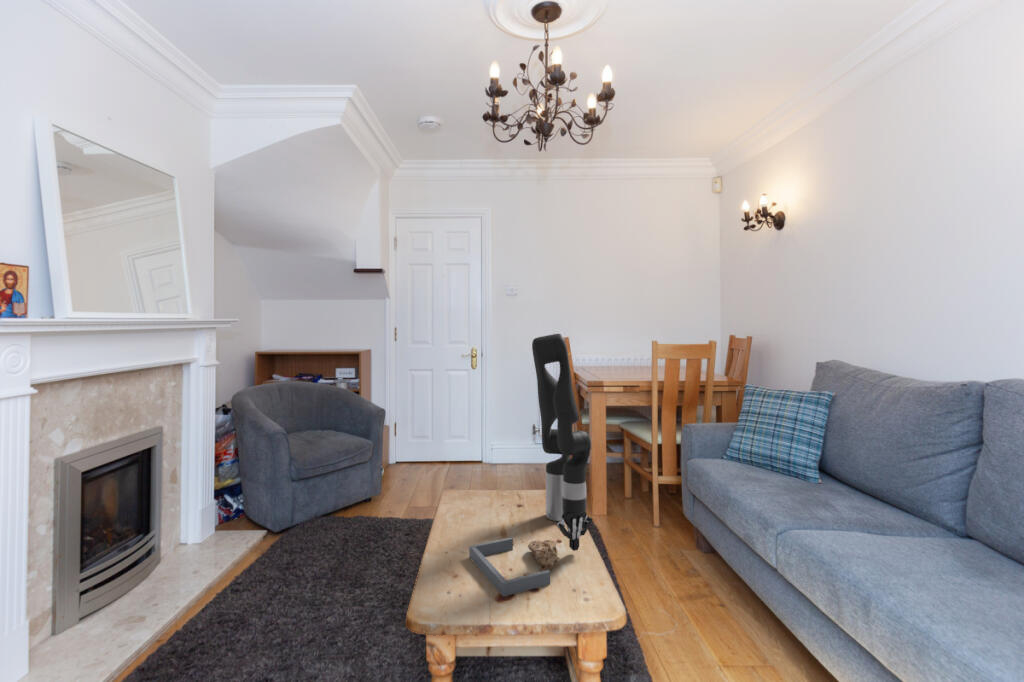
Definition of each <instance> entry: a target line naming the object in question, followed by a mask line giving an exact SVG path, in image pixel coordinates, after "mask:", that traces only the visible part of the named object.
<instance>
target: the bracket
mask: <svg viewBox="0 0 1024 682" xmlns="http://www.w3.org/2000/svg"><path fill="white" fill-rule="evenodd" d="M468 547H469V549H468V550H469V551H468V552H469V559H470V558H471V559H472V560H473V561H472V560H471V559H470V560H471V561H472V562H473V563H474V564H475V566H476V565H477V566H476V567H477V568H478V570H480V572H481V573H482V574H483V575H484V576H485V577H486V578H487V580H488V581H489V582H490V583H491V584H492V586H493V587H494V588H495V589H496V591H498V593H499V594H500V595H501V596H502V597H507V596H508V597H509V596H511V595H515V594H520V593H523V592H526V591H530V590H534V589H537V588H541V587H545V586H549V585H551V570H550V571H549V570H546V571H542V570H541V571H538V572H534V573H530V574H525V575H523V576H517V577H514V578H511V579H506V578H505V577H504V576H503V575H502V574H501V573H500V572H499V571H498V570H497V568H496V567H495V566H494V565H493V564H492V563H491V562H490V561H489V560H488V559H487V557H486V556H490V555H494V554H499V553H503V552H504V553H505V552H509V551H513V550H514V549H513V548H514V539H513V537H507V538H502V539H498V540H493V541H489V542H488V541H487V542H482V543H479V544H474V545H473V544H472V545H469V546H468Z"/></svg>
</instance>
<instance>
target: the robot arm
mask: <svg viewBox="0 0 1024 682" xmlns="http://www.w3.org/2000/svg"><path fill="white" fill-rule="evenodd" d="M531 349H532V357H533V363H534V369H535V374H536V380H537V383H536V384H537V397H538V407H539V412H540V413H539V414H540V421H541V446H542V450H543V452H544V453H546V454H549V455H550V454H551V455H561V456H560V457H559V458H557V459H555V460H551V461H549V462H547V463H546V465H545V518H546V519H548V520H550V521H552V522H553V521H555V526H556V527H557V528H558V530H559V531H560V532H561V534H562V535H563V536H564V537H566V538H567V539H568V540H569V541H568V542H569V545H568V546H569V548H570V550H571V551H574V552H575V551H578V550H579V548H580V538H581V537H582V536H585V534H586V533H587V531H588V529H589V528H590V525H592V523H593V518H592V517H590V516H588V515H587V513H588V512H587V483H586V479H587V478H586V476H587V475H586V473H587V470H586V469H587V466H588V465H587V464H588V462H589V461H588V460H589V458H590V457H589V456H590V452H591V449H592V442H591V441H592V440H591V438H590V437H591V436H590V435H589V434H588V433H587V432H586V431H584V430H574V431H573V425H574V424H576V423H578V422H579V420H580V415H579V412H578V406H577V403H576V399H575V395H574V389H573V383H572V373H571V367H570V359H569V354H568V353H569V352H568V347H567V344H566V340H565V338H564V336H563V335H562V333H553V334H549V335H543V336H542V335H541V336H538V337H535V338H533V339H532V343H531ZM557 362H558V363H559V376H558V379H557V380H556V378H555V377H554V376H553V375H551V373H550V372H549V370H547V368H546V365H548V364H552V363H557ZM556 420H557V428H552V426H553V424H554V423H555V421H556Z"/></svg>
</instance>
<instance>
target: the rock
mask: <svg viewBox="0 0 1024 682" xmlns="http://www.w3.org/2000/svg"><path fill="white" fill-rule="evenodd" d="M556 546H557V541H555V540H553V539H545V540H544V541H541V540H539V539H537V540H531V541H530V542H529V544H528V546H527V548H528V549H529V550H530V551H531V553H532V555H533V557H534V558H535V559H536V560H537V563H538V565H539V567H540V568H539V569H540V571H541V572H542V571H546V570H549V571H550V572H551V570H553V568H554V566H555V564H556V563H557V562H558V561H559V560H560V559H561V558H560V557H559V556H558V552H559V551H557V547H556Z"/></svg>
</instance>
